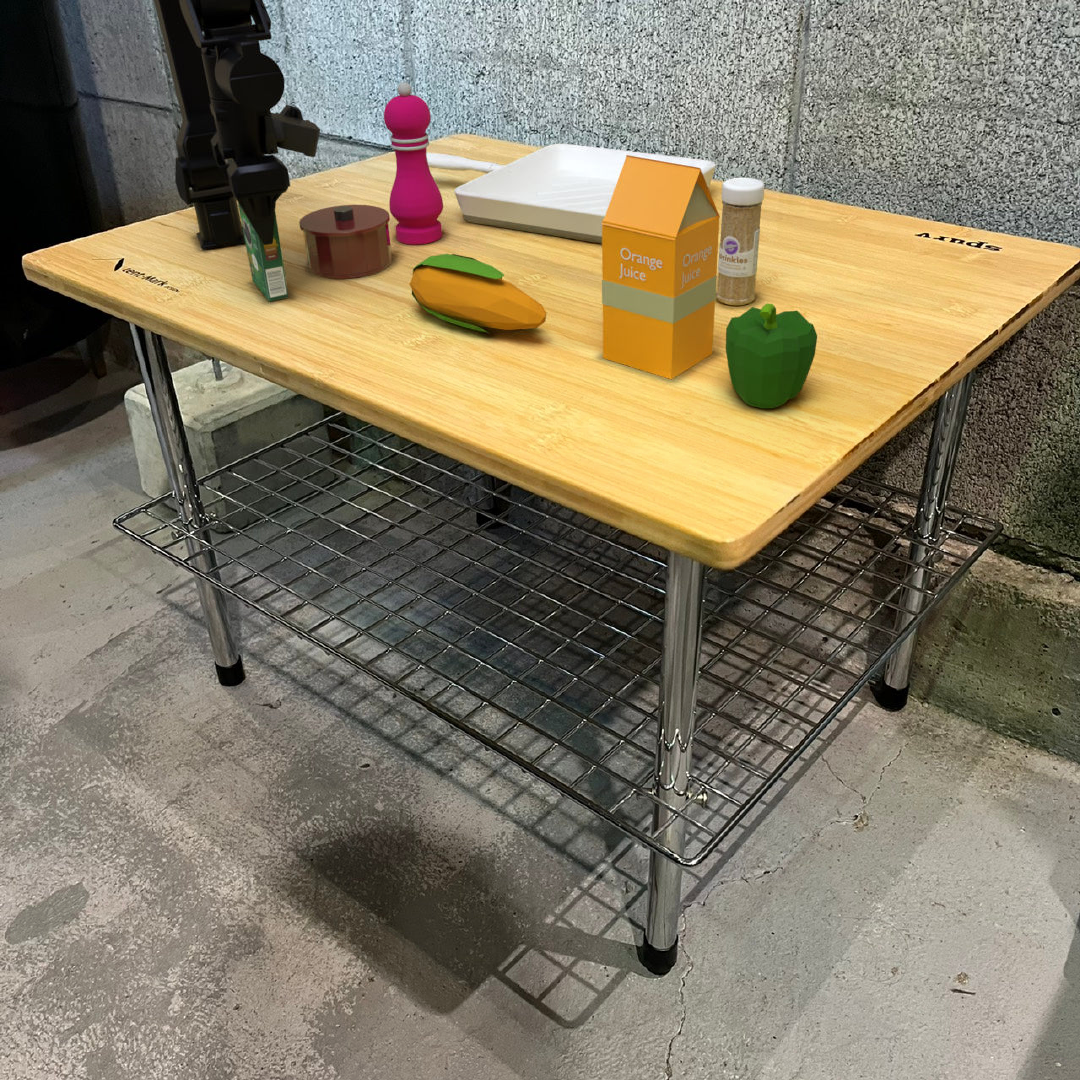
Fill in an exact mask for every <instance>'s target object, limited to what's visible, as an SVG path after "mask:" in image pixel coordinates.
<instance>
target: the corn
mask: <svg viewBox="0 0 1080 1080" xmlns="http://www.w3.org/2000/svg"><path fill="white" fill-rule="evenodd" d="M505 276H506V275H505V274H504V273H503V272H502V271H500V270H499V269H498V268H496V267H494V266H493V265H491V264H489V263H484V262H482V261H480V260H477V259H476V258H473V257H470V256H466V255H465V256H464V255H460V254H455V253H452V254H450V253H443V254H437V255H430V256H428V257H427V258H425V259H424V260H422V261H421V262H419V263H418V264H417V265H416V266H415V267H413V268H412V276H411V279H410V281H409V286H410V289H411V296H412V297H413V298H414V300H415V302H416V303H417V304H418V305H419V306H421V307H422V309H424V311H426V312H427V313H428V314H431V315H433V316H434V317H436V318H439V319H440V320H442V321H444V322H447V323H451V324H454V325H457V326H459V327H463V328H465V329H470V330H474V331H479V332H483V333H487V334H491V332H489V331H486V330H485V329H483V327H484V328H491V329H497V330H504V331H513V330H526V329H527V330H529V329H537V328H539V327H540V326H542V325H543V324H545V323H546V320H547V310H546V309H545V307H544V305H543V304H542V303H540V302H538V300H537V299H535V298H533V297H532V296H530V295H529V294H527V293H526V292H525V291H523V290H522V289H521V288H519V287H517V285H514V284H513V283H512V282H509V281H507V280H505V279H503V277H505ZM481 327H482V328H481Z"/></svg>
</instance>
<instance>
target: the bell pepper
mask: <svg viewBox="0 0 1080 1080" xmlns="http://www.w3.org/2000/svg"><path fill="white" fill-rule="evenodd" d="M817 340H818V334H817V331H816V328H815V326H814V324H813V323H811V322H809V321H808V320H807V319H806V318H805V317H804V316H803V315H802V313H800V311H798V310H786V311H785V310H784V311H781V312H779V313H778V314H777V307H776V306H775V305H774V304H773V303H765V304H764V305H763V306H761V308H757V307H754V306H752V307H750V308H749V309H748V310H746V311H745V312H744V313H743V314H741V315H740V316H735V317H731V318H730V320H729V322H728V325H727V326H726V328H725V354H726V360H727V367H728V373H729V378H730V382H731V385H732V387H733V389H734V392H735V393H736V394H737V395H739V397H740V399H741V400H742V401H743V402H745V404H747V405H748V406H751V407H755V408H759V409H775V408H777V407H780V406H782V405H785V404H786V402H787V401H788V400H791V399H794V398H796V397H797V396H798V394H799V393H800V392H801V391H802V389H803V388H804V385H805V383H806V381H807V378H808V376H809V373H810V371H811V368H812V365H813V362H814V359H815V356H816V351H817V350H816V348H817Z"/></svg>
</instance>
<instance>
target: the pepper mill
mask: <svg viewBox="0 0 1080 1080" xmlns="http://www.w3.org/2000/svg"><path fill="white" fill-rule="evenodd" d="M396 89H397V94H398V95H396V96H394V97H392V98H391V99H389V100H388V102H387V103H386V105H385V107H384V110H383V121H384V125H385V127H386V128H387V130H388V131H389V132H390V133H391V135H390V137H389V140H390V142H391V144H390V148H391V149H393V150H394V154H395V161H396V163H395V164H396V171H395V178H394V181H393V183H392V188H391V191H390V195H389V202H388V205H389V213H390V215H391V216H392V218H394V219H395V220H396V221H397V222H398V223H397V224H396V225H395V227H394V228H395V235H396V241H398V242H399V243H401V244H403V245H412V246H415V245H427V244H431V243H435V242H436V241H439V240H440V239H441V238H442V237H443V228H442V227H443V226H442V222H441V221H440V220H439V219H438V218H439V217H440V216H441V214H442V212H443V209H444V202H443V196H442V194H441V190H440V188H439V187H438V184H437V183H436V181H435V178H434V177H433V175H432V173H431V170H430V167H429V166H428V162H427V156H426V153H427V148H428V147H429V145H430V142H429V137H430V135H429V134H428V133H427V130H428V128H429V126H430V124H431V119H432V117H431V116H432V115H431V111H430V107H429V105H428V104H427V103H426V101H425V100H424V99H423V98H421V97H419V96H417V95H414V94H412V87H411V85H410V84H409V83H408V82H405V81H403V82H400V83H399V84H398V85H397V88H396Z"/></svg>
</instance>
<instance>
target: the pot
mask: <svg viewBox="0 0 1080 1080" xmlns="http://www.w3.org/2000/svg"><path fill="white" fill-rule="evenodd" d="M302 235H303V240H304V247H305V252H306V258H307V264H308V265H309V266H308V268H309V270H310V272H311V273H312V274H313V275H315V276H318V277H321V278H324V279H326V278H327V279H332V280H333V279H334V280H346V279H357V278H362V277H363V278H364V277H367V276H371V275H375V274H377V273H380V272H382V271H385V270H386V269H387V268H389V267H390V266H391V264H392V261H393V259H392V257H393V254H392V245H391V237H390V230H389V222H388V223H387V224H386V225H385V226H383V227H381V228H379V229H377V230H374V231H371V232H367V233H363V234H359V235H352V236H343V237H323V236H315V235H311V234H307V233H305V232H303V231H302Z"/></svg>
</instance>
